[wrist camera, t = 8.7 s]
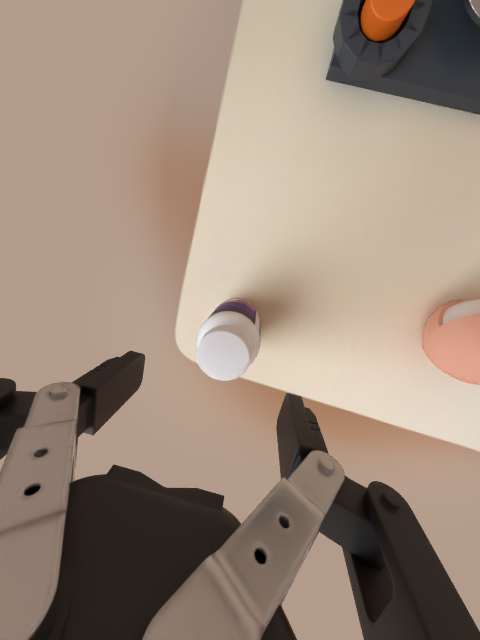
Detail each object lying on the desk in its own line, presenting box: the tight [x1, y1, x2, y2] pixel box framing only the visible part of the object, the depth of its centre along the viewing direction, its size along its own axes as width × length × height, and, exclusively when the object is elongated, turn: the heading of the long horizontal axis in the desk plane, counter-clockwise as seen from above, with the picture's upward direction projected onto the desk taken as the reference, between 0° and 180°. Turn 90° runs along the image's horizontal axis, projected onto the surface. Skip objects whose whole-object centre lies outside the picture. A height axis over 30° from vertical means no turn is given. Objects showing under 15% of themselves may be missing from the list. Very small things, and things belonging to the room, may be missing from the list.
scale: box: [326, 0, 480, 114], centre depth 16 cm, size 14×10×3 cm
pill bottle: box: [196, 299, 260, 381], centre depth 21 cm, size 5×5×10 cm
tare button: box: [361, 0, 415, 42], centre depth 15 cm, size 3×3×2 cm
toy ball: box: [422, 299, 480, 385], centre depth 20 cm, size 8×8×8 cm
